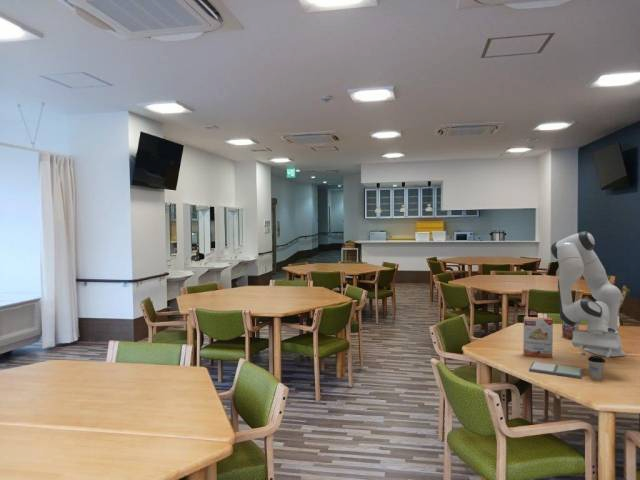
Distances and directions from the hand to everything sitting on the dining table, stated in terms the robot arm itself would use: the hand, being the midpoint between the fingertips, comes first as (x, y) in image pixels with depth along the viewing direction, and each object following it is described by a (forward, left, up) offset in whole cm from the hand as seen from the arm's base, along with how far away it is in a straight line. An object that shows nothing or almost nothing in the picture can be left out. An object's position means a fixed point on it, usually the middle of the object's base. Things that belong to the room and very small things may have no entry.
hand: (595, 356), depth 212 cm
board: (+1, -16, -9) cm, 19 cm away
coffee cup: (+4, +1, -10) cm, 10 cm away
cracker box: (-23, -27, -10) cm, 37 cm away
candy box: (-75, -15, -10) cm, 78 cm away
